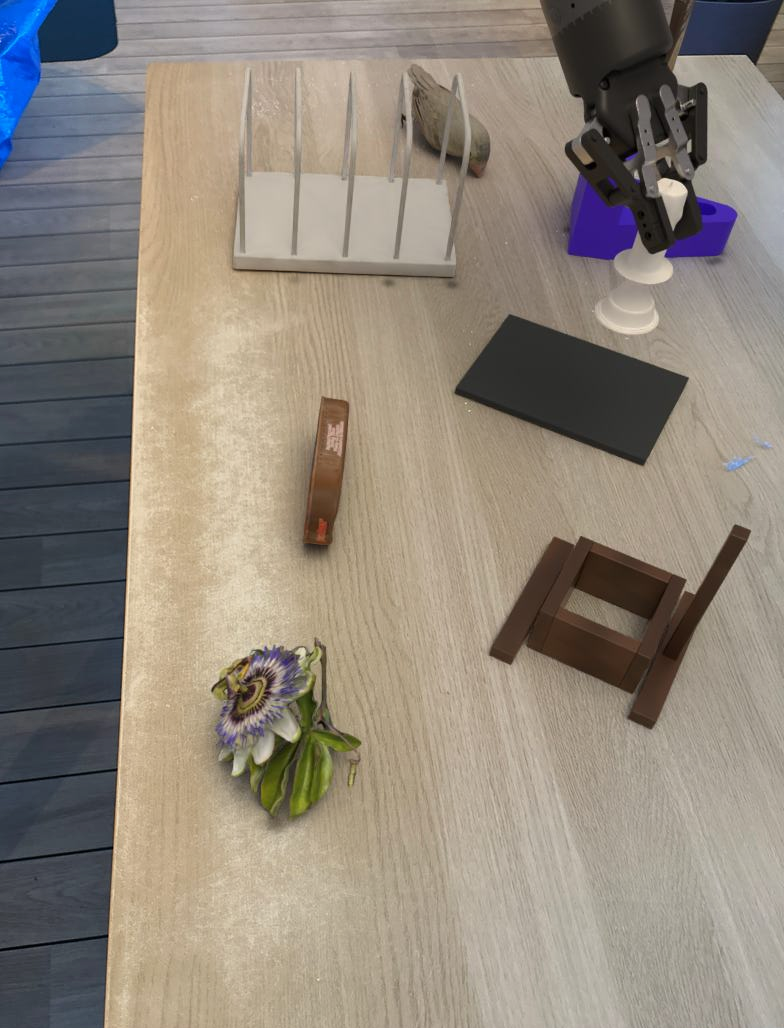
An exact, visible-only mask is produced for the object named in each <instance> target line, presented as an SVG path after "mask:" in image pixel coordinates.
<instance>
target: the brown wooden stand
mask: <svg viewBox="0 0 784 1028" xmlns="http://www.w3.org/2000/svg"><path fill="white" fill-rule="evenodd" d="M751 533H752V530H751V529H749V528H747V527H744V526H742V525H739V524H737V523H735V524H734V525H733V526H732V528H731V530H730V531H729V534H728V535H727V537H726V539H725V540H724V542H723V544H722V545H721V548H720V549H719V551H718V553H717V554H716V556H715V558H714V560H713V562H712V564H711V565H710V567H709V569H708V571H707V572H706V573H705V576H704V578H703V579H702V581H701V583H700V584H699V586H698V588H697V589H696V592H695V593H692V592H690V591H687V590H684V588H685V585H686V584H687V580H688V579H687V578H685V577H682V576H680V575H677V574H675V573H672V572H670V571H667V570H665V569H663V568H660V567H658V566H655V565H653V564H650V563H648V562H646V561H643V560H641V559H638V558H635V557H633V556H631V555H629V554H626V553H624V552H622V551H620V550H616V549H614V548H611V547H609V546H607V545H604V544H601V543H600V542H597V541H595V540H592V539H590V538H588V537H585V536H583V535H580V536H579V537H578V540H577V541H576V543H575V544H574V543H571V542H569V541H567V540H564V539H562V538H560V537H558V536H553V537H552V539H551V540H550V542H549V544H548V546H547V548H546V550H545V551H544V553H543V555H542V556H541V558H540V559H539V560H540V561H539V562H538V563H537V565H536V567H535V569H534V570H533V573H532V574H531V576H530V577H529V580H528V581H527V583H526V585H525V587H524V588H523V591H522V592H521V593H520V596H519V597H518V599H517V601H516V602H515V604H514V606H513V607H512V610H511V611H510V613H509V615H508V617H507V618H506V620H505V622H504V624H503V625H502V627H501V629H500V630H499V633H498V634H497V636H496V638H495V640H494V641H493V643H492V645H491V647H490V650H489V653H488V654H489V656H490V657H493V658H495V659H497V660H500V661H502V662H504V663H506V664H508V665H513V662H514V661H515V659H516V657H517V655H518V653H519V652H520V650H521V648H522V646H523V644H524V642H525V640H526V639H527V637H528V635H529V633H530V631H531V629H532V628H533V629H532V632H531V634H530V636H529V640H528V642H527V644H526V645H527V646H526V647H527V648H530V649H531V650H533V651H536V652H538V653H541V654H542V655H545V656H547V657H550V658H551V659H554V660H556V661H558V662H561V663H563V664H565V665H567V666H569V667H572V668H574V669H576V670H579V671H581V672H583V673H585V674H588V675H589V676H592V677H594V678H596V679H597V680H601V681H603V682H605V683H607V684H609V685H611V686H614V687H616V688H619V689H621V690H623V691H624V692H627V693H629V694H631V695H632V694H634V693H635V691H636V689H637V687H638V685H639V683H640V681H641V679H642V678H643V676H644V674H645V672H646V671H647V669H648V668H649V669H648V671H647V674H646V676H645V678H644V681H643V683H642V685H641V687H640V690H639V691H638V694H637V696H636V699H635V700H634V703H633V705H632V707H631V710H630V712H629V714H628V717H627V719H628V720H631V721H632V722H634V723H637V724H639V725H641V726H643V727H646V728H648V729H650V730H652V729H653V728H654V727H655V725H656V724H657V722H658V720H659V717H660V715H661V713H662V710H663V707H664V706H665V703H666V700H667V698H668V695H669V693H670V690H671V688H672V687H673V686H672V685H673V684H674V681H675V679H676V677H677V674H678V672H679V670H680V668H681V664H682V663H683V660H684V658H685V655H686V653H687V651H688V648H689V646H690V644H691V641H692V638H693V636H694V634H695V631H696V629H697V627H698V625H700V622H701V620H702V618H703V617H704V615H705V613H706V611H707V610H708V608H709V607H710V605H711V603H712V601H713V600H714V598H715V596H716V595H717V593H718V591H719V590H720V588H721V586H722V584H723V583H724V582H725V579H726V578H727V576H728V575H729V573H730V571H731V569H732V567H733V566H734V564H735V563H736V561H737V559H738V558H739V556H740V554H741V552H742V551H743V549H744V547H746V546H745V545H746V544H747V542H748V540H749V537H750V535H751ZM574 589H578V590H580V591H582V592H585V593H587V594H588V595H592V596H593V597H596V598H598V599H601V600H603V601H606V602H608V603H610V604H612V605H615V606H617V607H620V608H621V609H625V610H626V611H629V612H631V613H634V614H636V615H638V616H641V617H643V618H645V619H648V622H647V625H646V627H645V629H644V630H643V633H642V635H641V638H640V639H639V640H637V639H635V638H633V637H631V636H628V635H626V634H624V633H621V632H619V631H617V630H615V629H612V628H610V627H609V626H605V625H603V624H601V623H598V622H596V621H594V620H592V619H589V618H587V617H585V616H582V615H580V614H578V613H575V612H573V611H570V610H568V609H566V608H565V607H566V605H567V603H568V601H569V599H570V597H571V596H572V593H573V591H574ZM683 590H684V592H683ZM682 592H683V594H682ZM681 595H682V596H681ZM658 646H659V647H658ZM657 648H658V649H657ZM651 661H652V662H651ZM650 663H651V665H650ZM649 665H650V667H649Z"/></svg>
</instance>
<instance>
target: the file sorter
mask: <svg viewBox="0 0 784 1028" xmlns="http://www.w3.org/2000/svg"><path fill="white" fill-rule="evenodd" d="M252 77H253V76H252V67H251V66H246V67H245V70H244V81H243V89H242V98H241V109H240V117H239V130H238V131H239V132H238V200H237V210H236V221H235V231H234V243H233V253H232V262H233V263H232V268H233V269H235V270H257V271H259V270H260V271H285V272H286V271H287V272H307V273H308V272H310V273H333V274H355V275H357V274H361V275H386V276H387V275H389V276H412V277H413V276H414V277H439V278H441V277H442V278H443V277H444V278H454V277H455V276H456V271H457V255H456V248H455V236H456V231H457V226H458V220H459V217H460V210H461V207H462V206H461V205H462V204H461V203H462V199H463V195H464V189H465V183H466V178H467V172H468V167H469V156H470V148H471V127H470V120H469V114H470V113H469V109H468V102H467V97H466V91H465V84H464V78H463V74H462V73H461V72H455V74H454V76H453V79H452V84H451V88H450V91H451V94H450V100H449V106H448V113H447V119H446V125H445V131H444V137H443V144H442V150H441V151H440V156H439V164H438V170H437V176H436V178H423V177H422V178H420V177H409V176H410V168H411V161H412V151H413V118H412V117H413V116H412V115H411V111H412V102H411V92H410V82H409V80H410V79H409V74H408V72H407V71H403V72H402V74H401V76H400V83H399V89H398V99H397V107H396V116H395V126H394V133H393V143H392V152H391V162H390V170H389V176H378V175H359V174H358V175H356V163H357V150H358V132H359V131H358V129H359V127H358V126H359V125H358V123H359V121H358V120H359V119H358V93H357V91H358V90H357V88H358V87H357V71H356V69H350V71H349V80H348V93H347V103H346V104H347V105H346V119H345V131H344V143H343V144H344V145H343V159H342V170H341V174H336V173H335V174H333V173H331V174H330V173H311V172H309V173H308V172H306V173H305V172H302V149H303V147H302V145H303V108H302V107H303V105H302V104H303V103H302V101H303V100H302V68H301V67H299V66H297V67H295V75H294V79H295V80H294V149H293V151H294V161H293V162H294V163H293V166H294V167H293V168H294V169H293V170H294V171H293V172H283V171H281V172H279V171H252V163H253V162H252V160H253V159H252V157H253V156H252V154H253V153H252V151H253V149H252V146H253V145H252V136H253V133H252V132H253V131H252V130H253V129H252V128H253V126H252V125H253V124H252V122H253V121H252V119H253V118H252V117H253V113H252V112H253V111H252V109H253V108H252V105H253V104H252V101H253V100H252V99H253V97H252V94H253V93H252V91H253V89H252V88H253V87H252V86H253V85H252V84H253V83H252ZM457 91H458V92H457ZM457 93H458V97H459V98H458V99H459V100H460V103H461V110H462V117H463V123H464V129H465V145H464V155H463V156H462V164H461V166H460V174H459V180H458V185H457V191H456V196H455V200H454V206H453V212H452V214H451V205H450V199H449V188H448V182H447V180H446V179H444V178H443V174H444V169H445V162H446V155H447V153H446V151H447V145H448V138H449V132H450V126H451V120H452V114H453V108H454V102H455V96H456V97H457ZM403 107H404V112H405V113H404V116H406V121H405V127H406V128H405V129H406V137H405V138H406V142H405V155H404V164H403V165H404V166H403V172H402V177H401V176H400V177H399V176H398V177H397V176H396V177H395V173H396V165H397V158H398V157H397V156H398V148H399V140H400V131H401V125H402V123H401V116H402V113H403ZM468 113H469V114H468ZM350 137H351V138H350ZM350 139H351V140H350ZM245 141H246V142H245ZM350 141H351V142H350ZM350 143H351V144H350ZM245 144H246V163H245ZM349 150H350V151H349ZM349 152H350V159H349ZM348 163H349V170H348ZM245 164H246V165H245ZM245 166H246V169H245ZM348 171H349V172H348Z"/></svg>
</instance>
